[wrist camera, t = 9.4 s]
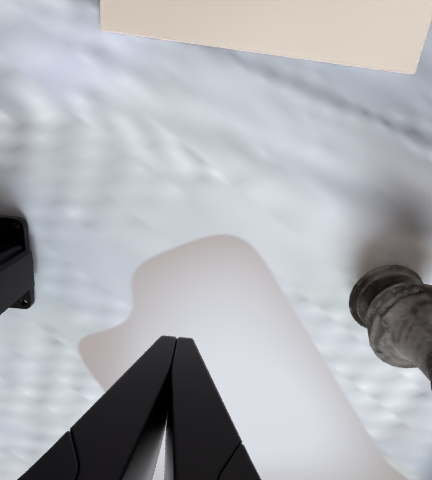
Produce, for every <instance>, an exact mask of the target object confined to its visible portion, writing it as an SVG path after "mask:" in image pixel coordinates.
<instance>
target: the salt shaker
mask: <svg viewBox="0 0 432 480" xmlns="http://www.w3.org/2000/svg"><path fill="white" fill-rule="evenodd" d="M349 307H350V312H351V314H352V316H353V318H354V319H355V321H357V322H358V323H359V324H360V325H361V326H363V327H365V328H367V329H368V336H369V342H370V346H371V348H372V350H373V351H374V353H375V355H376V356H377V357H379V358H380V359H381V360H382V361H383V362H385V363H387V364H390V365H392V366H396V367H401V368H417V367H418V368H419V369H420V370H421V371H422V372H423V373H424V375H425V376H426V377H427V378H428V379H429V380H430V381H431V390H432V285H427V284H423V282H422V280H421V278H420V277H419V276H418V275H417V274H416V273H415V272H414V271H412V270H410V269H408V268H407V267H403V266H398V265H391V266H384V267H380V268H377V269H375V270H373V271H371V272H369V273H367V274H366V275H365V276H364V277H362V278H361V279H360V280H359V281H358V283H357V284H356V285H355V287H354V288H353V290H352V293H351V295H350V301H349Z"/></svg>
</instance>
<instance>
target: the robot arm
mask: <svg viewBox="0 0 432 480" xmlns="http://www.w3.org/2000/svg"><path fill="white" fill-rule="evenodd" d="M15 223H18V224H19V226H20V228H17V227H16V225H15ZM34 285H35V283H34V272H33V262H32V253H31V251H30V248H29V238H28V227H27V223H26V221H25V220H24V219H23V218H20V217H14V216H5V215H0V315H1V314H2V313H3V312H4V311H5V310H6V309H8V308H20V309H28V308H30V307H31V306H32V305H33V304H34V290H33V287H34ZM23 299H24V300H26V301H27V303H26V302H25V301H24V300H23ZM166 421H167V424H166ZM165 427H166V440H165V474H164V480H261V479H260V476H259V475H258V473H257V471H256V469H255V467H254V465H253V463H252V461H251V459H250V457H249V455H248V453H247V451H246V448H245V446H244V445H243V444H242V440H241V438H240V436H239V434H238V432H237V430H236V428H235V426H234V424H233V422H232V420H231V417H230V416H229V413H228V412H227V409H226V407H225V405H224V403H223V401H222V399H221V397H220V394H219V392H218V390H217V388H216V386H215V384H214V382H213V380H212V378H211V376H210V374H209V371H208V369H207V367H206V365H205V363H204V361H203V359H202V357H201V355H200V353H199V351H198V349H197V346H196V345H195V342H194V340H193V339H192V338H183V337H179V338H178V339H177V338H176V337H172V336H161V337H160V338H159V339H158V340H157V341H156V342H155V343H154V344H153V345H152V346H151V347H150V348H149V349H148V350H147V351H146V352H145V353H144V354H143V355H142V356H141V357H140V358H139V359H138V360H137V361H136V362H135V363H134V364H133V365H132V366H131V367H130V368H129V369H128V370H127V371H126V372H125V373H124V374H123V375H122V377H120V378H119V380H117V381H116V383H115V384H114V385H113V386H112V387H111V388H110V389H109V390H108V391H107V392H106V393H105V394H104V395H103V396H102V397H101V398H100V399H99V400H98V401H97V402H96V403H95V404H94V405H93V406H92V407H91V408H90V409H89V410H88V411H87V412H86V413H85V414H84V415H83V416H82V417H81V418H80V419H79V420H78V421H77V422H76V423H75V424H74V425H73V426H72V427H71V428H70V431H67V432H66V433H65V434H64V435H63V436H62V437H61V438H60V439H59V440H58V441H57V442H56V443H55V444H54V445H53V446H52V447H51V448H50V449H49V450H48V451H47V452H46V453H45V454H44V455H43V456H42V457H41V458H40V459H39V460H38V461H37V462H36V463H35V464H34V465H33V466H32V467H31V468H30V469H29V470H28V471H26V472H25V473H24V474H23V475H22V476H21V477H20V478H19V479H17V480H152V478H153V474H154V471H155V467H156V463H157V459H158V455H159V452H160V448H161V444H162V440H163V436H164V431H165Z"/></svg>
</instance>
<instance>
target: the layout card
mask: <svg viewBox="0 0 432 480" xmlns="http://www.w3.org/2000/svg"><path fill="white" fill-rule="evenodd" d="M431 19H432V0H100V29H101V30H102V31H105V32H112V33H119V34H126V35H133V36H141V37H148V38H155V39H162V40H169V41H176V42H183V43H190V44H197V45H204V46H212V47H219V48H226V49H233V50H240V51H247V52H254V53H261V54H268V55H275V56H282V57H290V58H297V59H304V60H311V61H318V62H325V63H332V64H339V65H346V66H353V67H361V68H368V69H375V70H382V71H389V72H396V73H403V74H410V75H412V74H415V72H416V69H417V65H418V62H419V59H420V55H421V52H422V49H423V45H424V42H425V39H426V36H427V32H428V29H429V26H430V22H431Z"/></svg>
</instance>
